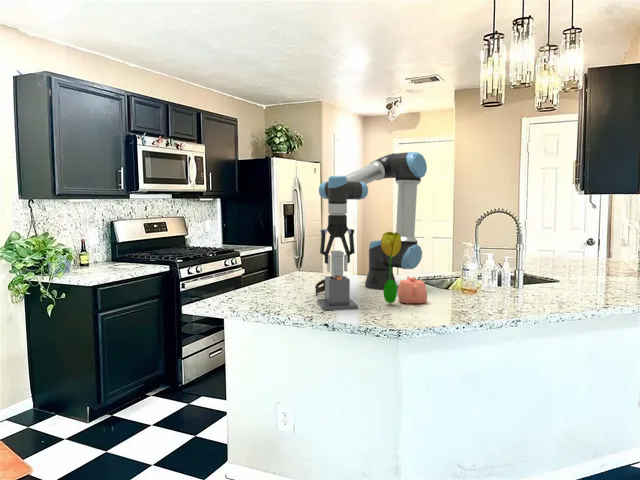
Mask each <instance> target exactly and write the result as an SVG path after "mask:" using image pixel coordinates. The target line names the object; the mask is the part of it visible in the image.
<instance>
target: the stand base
mask: <svg viewBox="0 0 640 480" xmlns="http://www.w3.org/2000/svg"><path fill="white" fill-rule="evenodd" d="M324 279H325V291H324V298H317V299H316V303H317V304H318V306H319V307H320V308H321V309H322V311H341V310H342V311H343V310H358V309H359V305H358V304H357V303H356V302H355V301H354V300H353V299H351V298H350V288H351V287H350V285H351V283H350V282H351V280H350V278H348V277H347V276H345V275H343V279H342V277H336V279H331V276H324Z"/></svg>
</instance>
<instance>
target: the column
mask: <svg viewBox="0 0 640 480" xmlns="http://www.w3.org/2000/svg"><path fill="white" fill-rule="evenodd" d="M330 255H331V256H330V274H331V279H336V277H342V279H343V276H344V255H345V253H344V251H342V250H330Z"/></svg>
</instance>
